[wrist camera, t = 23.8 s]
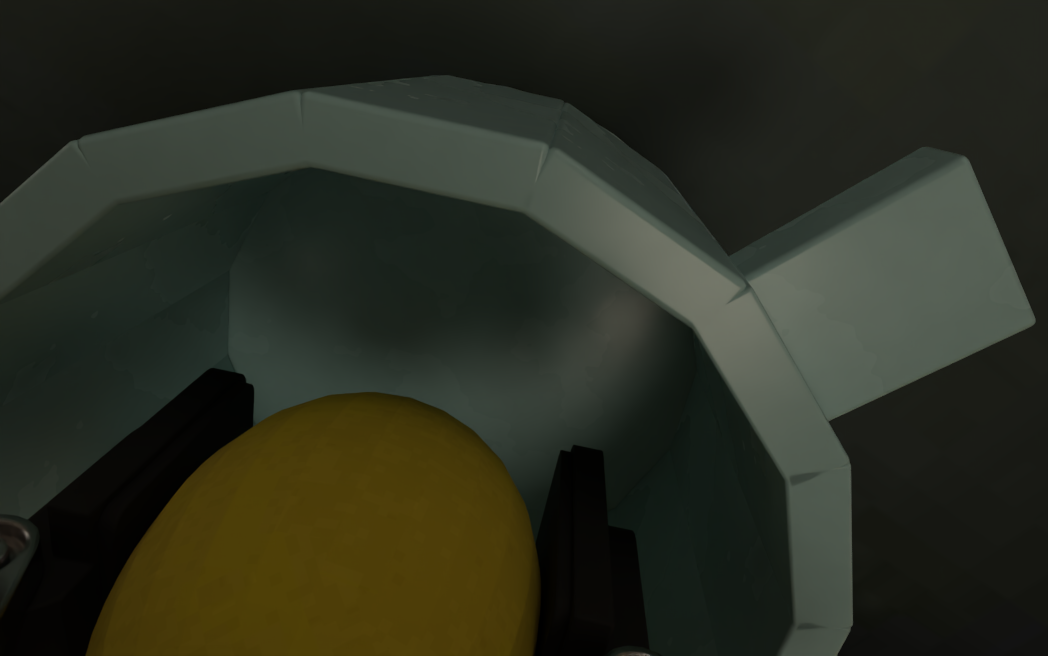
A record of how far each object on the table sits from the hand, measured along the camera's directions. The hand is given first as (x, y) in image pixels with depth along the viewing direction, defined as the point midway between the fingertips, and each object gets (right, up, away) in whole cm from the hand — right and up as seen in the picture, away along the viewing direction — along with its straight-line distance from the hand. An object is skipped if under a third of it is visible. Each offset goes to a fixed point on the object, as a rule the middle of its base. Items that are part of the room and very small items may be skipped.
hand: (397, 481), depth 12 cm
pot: (+1, +2, +5) cm, 6 cm away
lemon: (0, +1, +1) cm, 1 cm away
